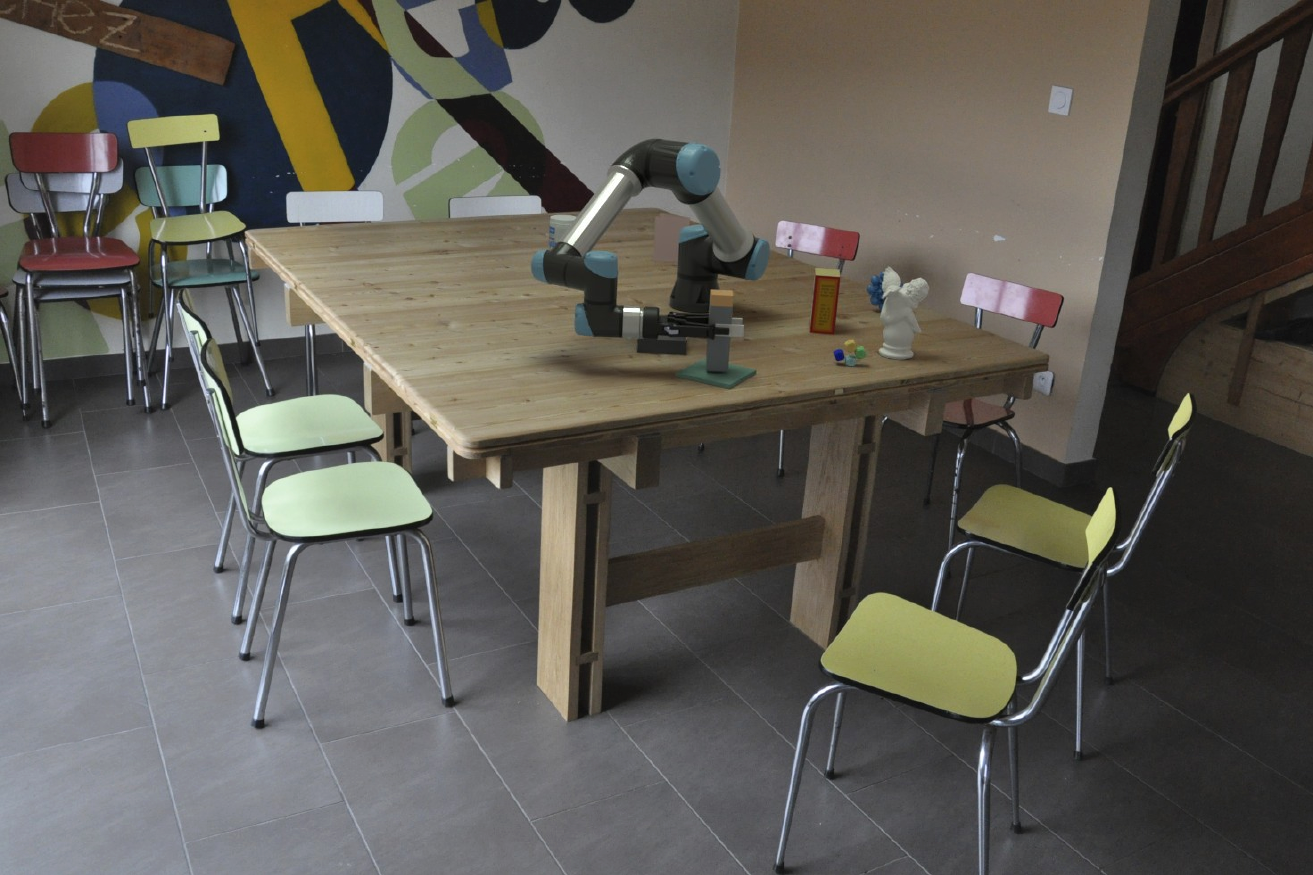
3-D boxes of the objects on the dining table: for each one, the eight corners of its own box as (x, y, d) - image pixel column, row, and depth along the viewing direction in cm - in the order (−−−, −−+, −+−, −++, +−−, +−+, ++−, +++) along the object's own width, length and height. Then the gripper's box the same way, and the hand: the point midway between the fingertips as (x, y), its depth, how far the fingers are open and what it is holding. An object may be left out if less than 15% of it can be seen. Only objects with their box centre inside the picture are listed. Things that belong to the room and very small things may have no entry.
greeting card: (688, 262, 371) (691, 217, 365) (677, 266, 365) (680, 220, 359) (659, 257, 376) (661, 212, 371) (647, 260, 370) (649, 215, 365)
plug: (705, 364, 262) (710, 289, 255) (726, 365, 262) (732, 290, 255) (706, 370, 257) (711, 294, 251) (727, 371, 257) (733, 296, 251)
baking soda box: (809, 323, 307) (815, 266, 301) (833, 325, 306) (839, 268, 300) (809, 332, 298) (815, 274, 292) (834, 334, 298) (840, 275, 292)
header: (638, 337, 286) (638, 324, 285) (684, 339, 286) (685, 326, 285) (636, 352, 274) (637, 338, 273) (685, 354, 274) (686, 341, 273)
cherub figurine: (923, 357, 282) (937, 272, 274) (898, 367, 274) (911, 279, 265) (882, 345, 290) (894, 262, 281) (856, 354, 281) (867, 269, 273)
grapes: (866, 315, 318) (871, 273, 314) (862, 308, 324) (867, 268, 320) (907, 317, 318) (912, 275, 314) (902, 310, 324) (908, 270, 320)
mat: (704, 362, 269) (704, 358, 269) (756, 373, 263) (756, 369, 262) (675, 376, 258) (676, 372, 257) (729, 389, 251) (729, 384, 251)
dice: (833, 365, 272) (835, 340, 269) (831, 362, 274) (834, 337, 272) (865, 367, 272) (868, 342, 269) (864, 364, 274) (867, 339, 272)
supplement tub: (543, 263, 359) (543, 217, 354) (557, 257, 368) (558, 213, 362) (569, 267, 356) (570, 221, 350) (583, 261, 364) (584, 216, 358)
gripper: (642, 327, 266) (739, 332, 266) (640, 349, 249) (744, 354, 249) (643, 297, 263) (741, 301, 263) (641, 317, 246) (746, 322, 246)
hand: (742, 327), depth 256 cm, fingers closed on plug, 5 cm apart
